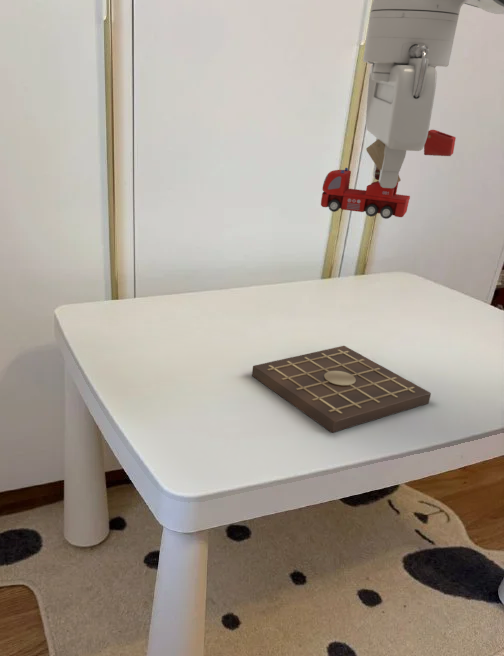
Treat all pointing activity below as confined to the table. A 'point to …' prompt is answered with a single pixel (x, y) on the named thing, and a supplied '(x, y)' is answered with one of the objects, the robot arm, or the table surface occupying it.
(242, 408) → the table surface
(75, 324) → the table surface
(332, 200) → the toy fire truck
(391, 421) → the table surface
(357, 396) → the board
